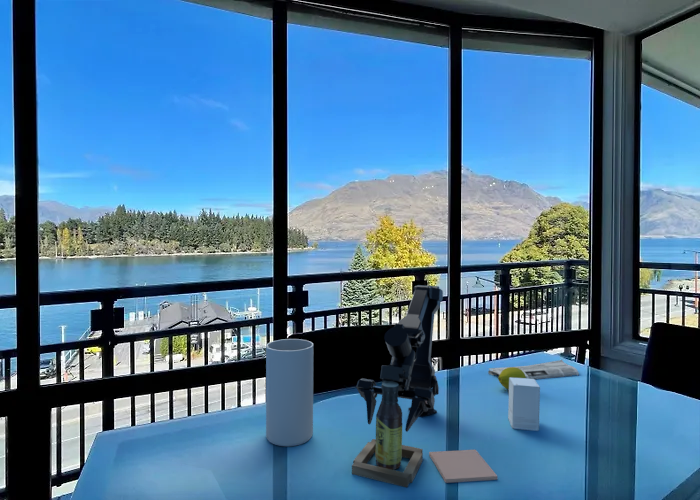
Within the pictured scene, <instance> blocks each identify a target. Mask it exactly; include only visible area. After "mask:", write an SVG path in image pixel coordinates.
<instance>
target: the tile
mask: <svg viewBox="0 0 700 500" xmlns="http://www.w3.org/2000/svg"><path fill="white" fill-rule="evenodd" d="M428 453H429V457H430V459H431V461H432V462H433V464H434V466H435V467H436V469H437V471H438V472H439V474H440V476H441V477H442V480H443V481H444V483H445V484H447V483H448V484H450V483H463V482H464V483H465V482H478V481H493V480H498V475H497V473H495V471H494V470H493V469H492V468H491V466H490V465H489V464H488V463H487V462H486V460H485V459H484V457H482V455H480V453H479V451H477V449H463V450H462V449H461V450H445V451H443V450H442V451H439V450H438V451H429V452H428Z"/></svg>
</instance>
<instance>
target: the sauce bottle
mask: <svg viewBox="0 0 700 500" xmlns="http://www.w3.org/2000/svg"><path fill="white" fill-rule="evenodd" d="M381 386H382V387H381V389H382V395H381V401H380V404H379V406H378V410H377V412H376V415H375V439H376V450H375V453H374V454H375V455H374V457H375V464H376V466H378V467H383V468H387V469H391V470H397V469H399V468H400V467H401V463H402V458H403V457H402V445H403V411H402V408H401V405H400V404H399V397H398V390H399V384H398V383H397V382H395V381H384V382H381Z"/></svg>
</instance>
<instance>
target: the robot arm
mask: <svg viewBox="0 0 700 500" xmlns="http://www.w3.org/2000/svg"><path fill="white" fill-rule="evenodd" d="M412 293H413V294H412V298H411V301H410V303H409V306H408V309H407V312H406V315H405V316H404V317H402V318H401V319H400V320H398V323H395V325H394V326H393V327H390V328H389V329H388V330H387V331H386V332H385V333H384V337H383V338H384V341H385V344H386V347H387V350H388V351H389V354H390V355H391V360H390V363H389V364H388V365H383V364H382V365H381V370H380V377H379V379H380V380H382V381H381V383H383V382H384V381H395V382H397V383H398V384H399V390H398V399H399V398H400V399H406V400H411V405H410V407H408V408H407V409H408V411H409V413H408V415H407V419H406V422H405V423H406V424H405V429H404V430H405V432H407V433H408V432H409V431H410V430H411V428H412V426H413V425H414V424H415V422H416V420H417V419H418V418H419V417H421V418H423V417H426V416H430V415H434V414H436V413H438V410H436V409H435V402H436V399H435V396H436V395H438V396H439V389H440V388H439V382H438V379H437V376H436V374H435V373H436V370H435V368H434V366H433V363H432V361H431V358H432V357H431V356H432V346H433V337H434V336H433V335H434V334H433V333H434V321H435V314H436V313H437V312H438V311H439V309H440V308H441V304H442V303H441V302H442V301H443V299H444V297H443V296H444V291H443V289H442V288H440V287H439V286H435V285H421V284H417V285H415V286H414V287H413V292H412ZM413 347H414V348H416V350H415V349H414V348H413ZM415 351H416V352H415ZM381 387H382V385H381V386H380V385H377V384H376V381H375V380H374V379H369V378H368V379H367V378H363V377H362V378H360V379H358V381H357V383H356V387H355V388H356V390H357V392H358V394H359V395H360V397H362V398H363V399H364V401H365V404H366V405H365V406H366V416H367V417H366V418H367V424H368V425H371V423H372V421H373V417H374V414H375V410H376V407H377V406H376V405H377V399H376V398H377V397H378V395H380V396H382V389H381Z"/></svg>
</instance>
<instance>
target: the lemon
mask: <svg viewBox="0 0 700 500" xmlns="http://www.w3.org/2000/svg"><path fill="white" fill-rule="evenodd" d="M508 367H509V368H506V369H504V370H503V371H502V372H501V373H500V375H498V377H497V379H498V381H499V382H498V383H500V385H501V386H502V387H503V388H505V389H506V390H509V378H526V376H525V374H524V372H523V371H522V370H521V369H519V368H516V367H517V366H508Z"/></svg>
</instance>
